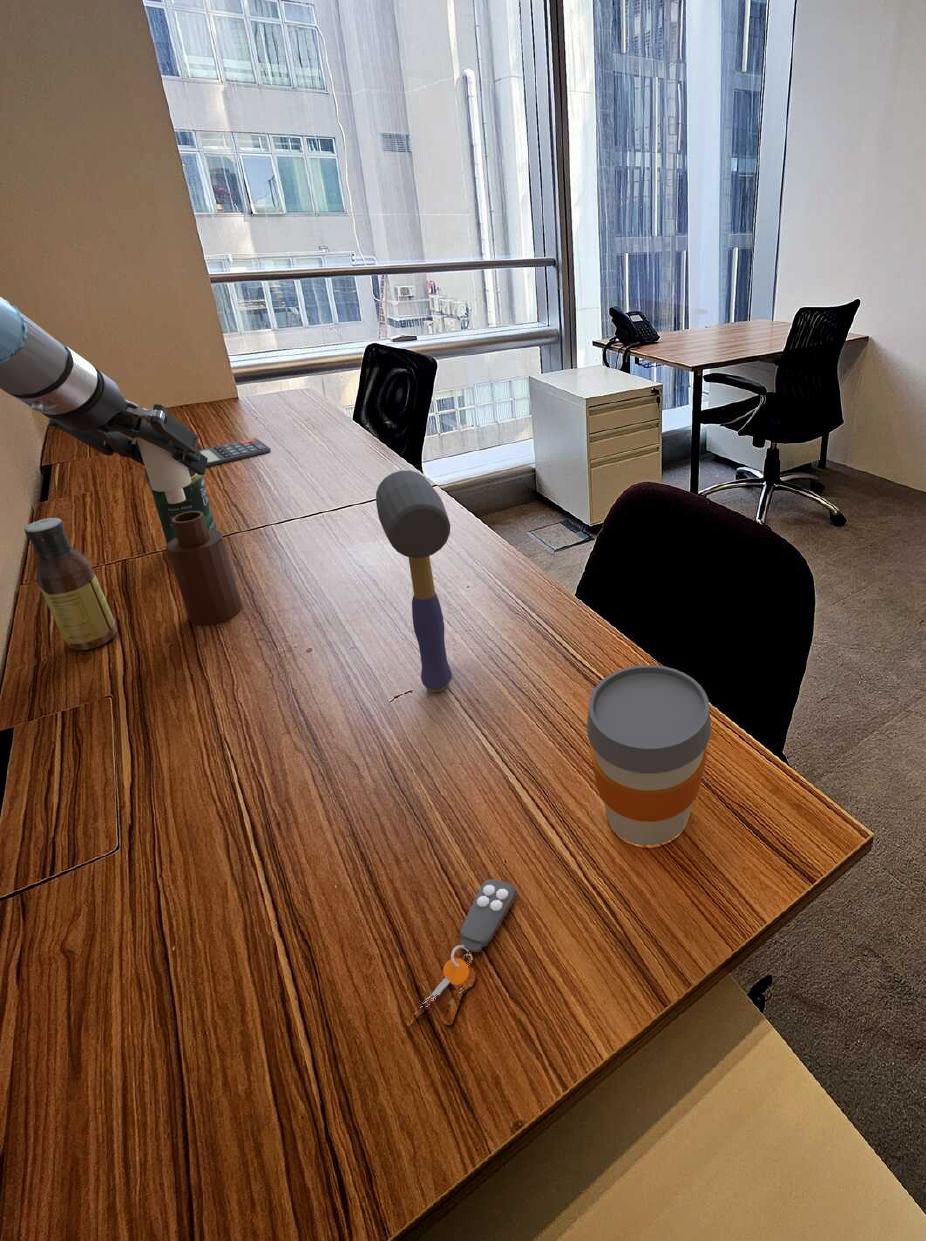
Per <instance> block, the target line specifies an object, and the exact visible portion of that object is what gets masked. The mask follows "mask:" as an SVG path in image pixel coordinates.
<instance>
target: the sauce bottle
mask: <svg viewBox="0 0 926 1241" xmlns="http://www.w3.org/2000/svg"><path fill="white" fill-rule="evenodd" d="M65 528H66V527H65V525H64V523H63V521H62V519H61V518H58V517H48V518H42V519H39V520H36V521H33V522H31V523H29V524H27V525H26V526H25V527H24V533H25V535H26V538H27V539H28V540H30V542H31V544H32V547H33V549H34V550H35V555H36V557H37V558H36V561H37V564H36V567H37V568H36V584H37V586H38V588H39V590H40V592H41V594H42V596H43V599H44V601H45V603H46V605H47V607H48V610H49V611H50V614H51V616H52V617H53V620H54V622H55V625H56V626H57V629H58V632H59V633H60V635H61V637H62V639H63V641H64V642H65V643H66V645H67V646H68V647H69V649H71V650H74V651H88V650H92V649H97V648H99V647H101V646H102V645H103V646H104V645H105V644H107V643H108V642H110V641H111V640H113V639H114V638H115V637H116V635H117V634H118V628H117V625H116V620H115V618H114V616H113V613H112V610H111V608H110V606H109V604H108V601H107V599H106V596H105V594H104V592H103V590H102V587H101V585H100V583H99V582H100V581H99V580H98V578H97V575H96V573H95V571H94V570H93V568H92V566H91V563H90V561H89V559H88V558H87V556H85V555H84V554H82V552H80V551H78V550H76V549H75V548H73V547H72V543H71V542H70V540H69V539H68V536H67V534H66V532H65Z"/></svg>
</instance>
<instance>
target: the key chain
mask: <svg viewBox="0 0 926 1241" xmlns="http://www.w3.org/2000/svg"><path fill="white" fill-rule="evenodd" d="M516 897H517V889H516V887H515V886H514V885H513V884H511V883H509V882H506V881H503V880H500V879H495V878H490V879H485V881H483V883H482V885H481V886H480V888H479V890H478V892H477V894H476V896H475V898H474V901H473V903H472V904H471V907H470V909H469V911H468V913H467V915H466V917H465V919H464V921H463V923H462V926H461V929H460V932H459V936H460V937H459V938H460V941H459V944H458V945H457V946H455V947H454V948H453V949H452V951H451V952H450V953H451V954H450V959H449V960H447V961H446V963H445V964H444V965H443V969H442V974H443V977H444V978H443V979H442V980H441V982H440V983H439V984H438V985H437V986H436V987H435V989H434V990H433V992H432V993H430V994H429V995H431V994H432V995H433V996H434V997H433V998H431V999H433V1000H431V1001H433V1002H435V1000H437V999H436V998H435V997H436V996H437V995H439V996H441V994H442V992H443V991H444V990H445V989H446V988H447V987H448V986H449V984H452V985H451V986H453V985H455V986H458V985H459V986H460V985H462V984H463V983H464V982H466V980H467V978H468V977H469V968H468V965H467V964H468V963H467V962H466V961H465V960H464V959H463V960H462V958H460V957H455V953H456V952H457V951H458V950H459V949H463V950H465V951H466V952H467V953H466V954H464V955H463V956H465V955H466V957H469V956H470V957H471V960H473V961H474V958H473V955H472V952H473V953H480V952H482V949H483V948H485V947H484V946H487V947H488V945H489V944H490V943H489V941H491V942H492V940H493V939H494V937H495V935H496V934H495V932H496V930H497V928H498V927H499V925H500V923H501V921H502V920H503V918H504V916H505V915H506V916H507V914H508V912H509V911H508V909H509V907H510V906H511V907H512V905H513V904H514V902H515V900H514V899H516ZM513 901H514V902H513ZM512 903H513V904H512ZM511 904H512V905H511ZM511 907H510V908H511ZM509 910H510V909H509ZM507 911H508V912H507ZM506 913H507V914H506ZM506 916H505V917H506ZM504 919H505V918H504ZM503 921H504V920H503ZM503 921H502V922H503ZM501 924H502V923H501ZM500 926H501V925H500ZM499 928H500V927H499ZM499 928H498V929H499ZM497 931H498V930H497ZM496 933H497V932H496ZM494 934H495V935H494ZM493 936H494V937H493ZM492 938H493V939H492ZM491 939H492V940H491ZM488 943H489V944H488ZM487 944H488V945H487ZM482 947H483V948H482ZM469 950H470V951H471V954H468V951H469ZM469 953H470V952H469ZM468 955H469V956H468ZM466 963H467V964H466ZM463 987H464V986H463ZM443 989H444V990H443ZM462 989H463V988H461V989H460V990H462ZM463 991H464V990H463ZM461 992H462V991H461ZM461 992H459V993H461ZM436 994H437V995H436ZM429 995H428V996H429ZM432 995H431V996H432ZM435 995H436V996H435ZM428 996H427V997H426V998H425V1000H427V999H429V998H430V997H431V996H429V997H428ZM434 998H435V1000H434ZM425 1000H424V1001H425ZM424 1001H423V1002H424ZM427 1001H428V1000H427ZM427 1001H425V1002H424V1003H426V1002H427ZM423 1002H421V1005H422V1004H424V1003H423ZM421 1005H420V1006H421ZM429 1005H430V1004H429ZM420 1006H419V1007H420ZM430 1006H431V1005H430ZM421 1007H423V1006H421ZM421 1007H420V1008H421ZM426 1007H428V1006H426ZM428 1008H429V1007H428ZM415 1012H416V1011H415ZM415 1012H414V1013H415ZM416 1013H417V1012H416ZM416 1013H415V1014H416Z"/></svg>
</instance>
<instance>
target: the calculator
mask: <svg viewBox="0 0 926 1241" xmlns="http://www.w3.org/2000/svg"><path fill="white" fill-rule="evenodd" d="M198 450H199V451H200V452H201V454H202V455H204V456H205V457H207V458H208V460H207V465H206V468H207V467H211V466H215V465H220V464H224V463H227V462H232V461H236V460H240V459H244V458H249V457H253V456H259V455H262V454H266V453H270V452H271V451H272V450H271V447H269V446H268V445H266V444H265V443H264V442H262V441H261V440H259V439H258V438H257V437H253V438H247V439H243V440H240V441H239V440H238V441H235V442H231V443H225V444H221V445H217V446H212V447H207V448H203V449H198Z"/></svg>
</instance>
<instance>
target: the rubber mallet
mask: <svg viewBox="0 0 926 1241" xmlns="http://www.w3.org/2000/svg"><path fill="white" fill-rule="evenodd" d="M375 502H376V511H377V515H378V520H379V522H380V525H381V528H382V530H383V532H384V534H385V536H386V538H387V540H388V541H389V544H390V545H391V547H392V548H393V549H394V550H395V551H396V552H397V553H399V554H401V555H402V556H404V557H407V558H408V563H409V564H408V565H409V570H410V578H411V584H412V591H413V595H412V598H411V599H412V600H411V617H412V618H411V619H412V627H413V631H414V634H415V637H416V638H415V639H416V640H417V644H418V649H419V655H420V662H421V672H420V680H421V683H422V685H423V687H425V688H426V689H427V690H429V691H430V692H431V693H438V692H443V691H444V690H445V689H447V688H448V686H449V685H450V682H451V681H452V677H453V672H452V669H451V666H450V664H449V662H448V656H447V651H446V643H445V620H444V616H443V615H444V614H443V610H442V606H441V602H440V599H439V597H438V595H437V593H436V589H435V588H436V587H435V583H434V576H433V570H432V564H431V558H430V556H433V555H434V554H436V553H438V552H439V551H440V550H442V548H443V547H444V546H445V545H446V543H447V542H448V540H449V537H450V534H451V522H450V520H449V515H448V513H447V510H446V508H445V505H444V502H443V500H442V497H441V496H440V494H438V492H437V491H436V489H435V487H433V486H432V485H431V483H430V482H429V481H428V479H427V478H426V477H425V476H423V475H422V474H420V473H419V472H416V471H413V470H397V471H395V472H392V473H390V474H388V475H387V476H386V477H384V478H383V479H382V481H381V482H380V483H379V484H378V487H377V489H376V492H375Z"/></svg>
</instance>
